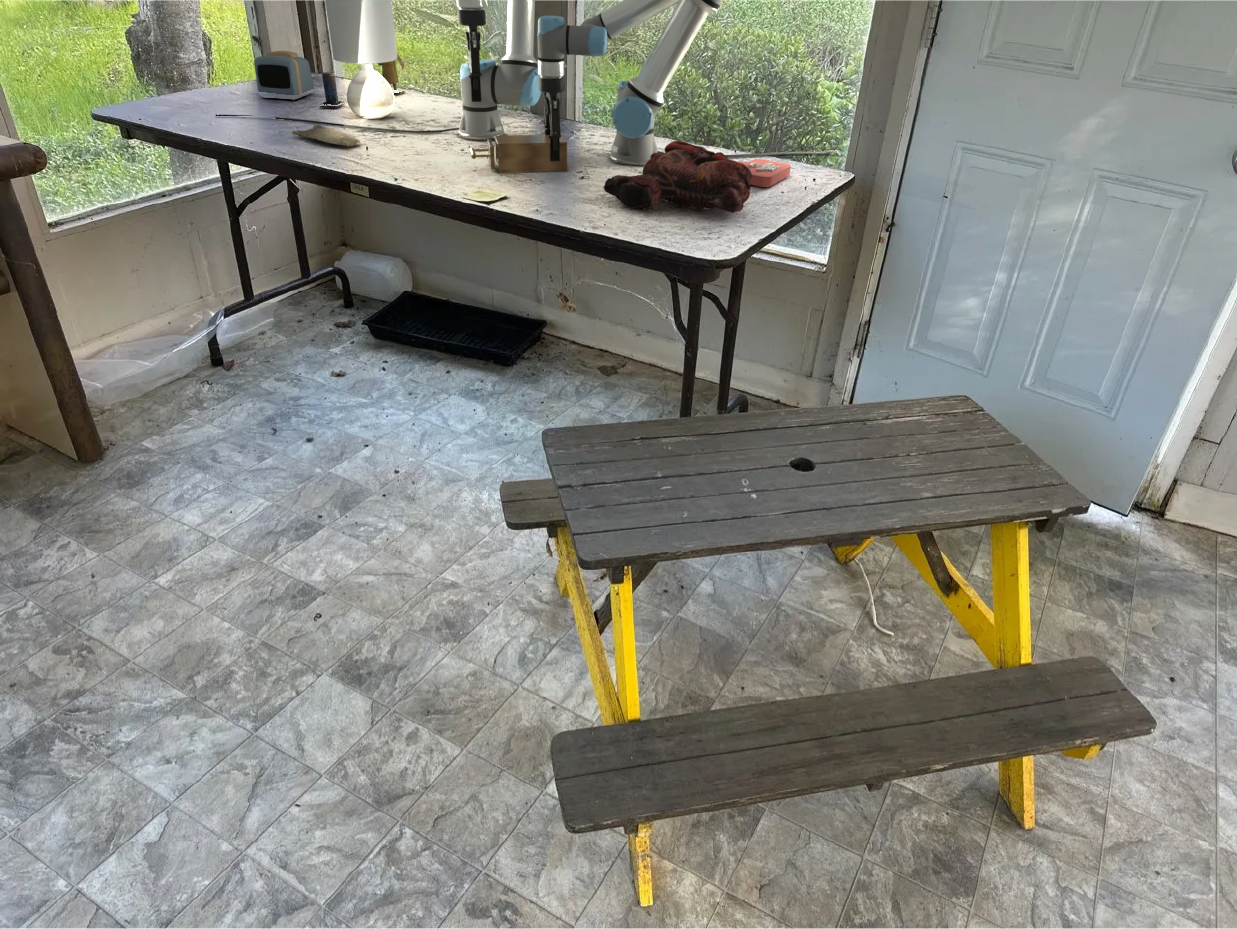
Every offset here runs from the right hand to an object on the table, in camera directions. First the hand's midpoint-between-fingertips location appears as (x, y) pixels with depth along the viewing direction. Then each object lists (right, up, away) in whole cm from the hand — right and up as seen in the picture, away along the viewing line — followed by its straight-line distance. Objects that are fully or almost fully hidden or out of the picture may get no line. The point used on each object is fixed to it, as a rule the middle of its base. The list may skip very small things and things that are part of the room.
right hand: (552, 155), depth 257 cm
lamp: (-69, +32, +49) cm, 91 cm away
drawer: (-12, -3, -1) cm, 12 cm away
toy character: (-31, +40, +63) cm, 80 cm away
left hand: (-21, +11, -13) cm, 27 cm away
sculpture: (+36, -23, -26) cm, 50 cm away
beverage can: (-87, +40, +60) cm, 113 cm away
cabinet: (-6, -3, +1) cm, 7 cm away
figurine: (-70, +55, +83) cm, 122 cm away
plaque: (+62, -7, -2) cm, 62 cm away
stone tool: (-74, +12, +19) cm, 78 cm away
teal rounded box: (-109, +50, +73) cm, 140 cm away
